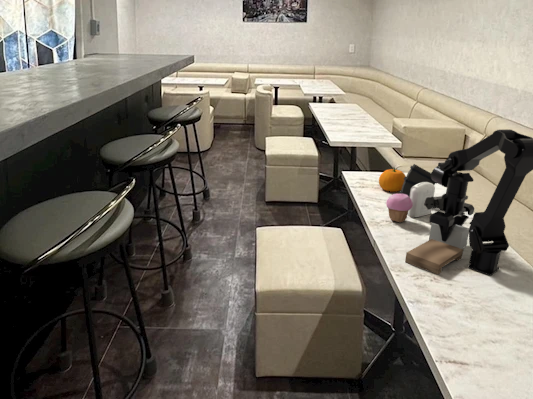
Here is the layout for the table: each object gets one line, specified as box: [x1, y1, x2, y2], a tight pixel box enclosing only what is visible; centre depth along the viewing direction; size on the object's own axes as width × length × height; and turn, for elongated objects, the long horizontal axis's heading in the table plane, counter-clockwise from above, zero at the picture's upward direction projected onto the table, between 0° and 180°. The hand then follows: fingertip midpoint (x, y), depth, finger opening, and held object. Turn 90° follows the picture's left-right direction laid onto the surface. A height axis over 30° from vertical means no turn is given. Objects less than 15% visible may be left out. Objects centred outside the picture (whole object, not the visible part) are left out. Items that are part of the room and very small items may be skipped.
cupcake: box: [385, 193, 413, 223], centre depth 164 cm, size 9×9×10 cm
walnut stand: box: [405, 239, 464, 275], centre depth 136 cm, size 10×15×3 cm, turn 135°
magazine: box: [399, 163, 438, 197], centre depth 185 cm, size 4×13×15 cm, turn 82°
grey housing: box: [428, 222, 469, 250], centre depth 148 cm, size 10×5×7 cm, turn 45°
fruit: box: [378, 166, 407, 193], centre depth 199 cm, size 12×12×10 cm
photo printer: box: [407, 182, 436, 218], centre depth 171 cm, size 10×4×12 cm, turn 123°
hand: (448, 238), depth 148 cm, fingers closed on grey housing, 5 cm apart
